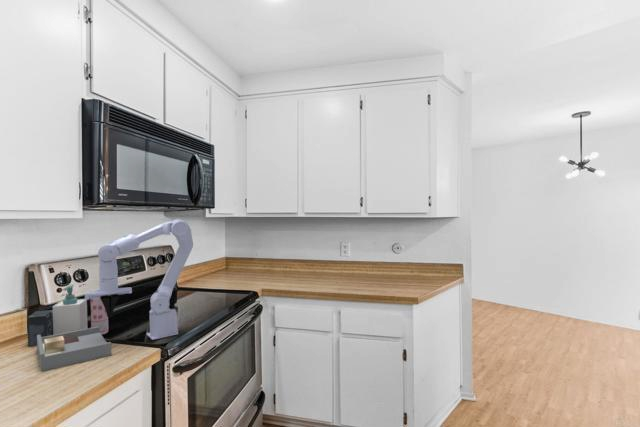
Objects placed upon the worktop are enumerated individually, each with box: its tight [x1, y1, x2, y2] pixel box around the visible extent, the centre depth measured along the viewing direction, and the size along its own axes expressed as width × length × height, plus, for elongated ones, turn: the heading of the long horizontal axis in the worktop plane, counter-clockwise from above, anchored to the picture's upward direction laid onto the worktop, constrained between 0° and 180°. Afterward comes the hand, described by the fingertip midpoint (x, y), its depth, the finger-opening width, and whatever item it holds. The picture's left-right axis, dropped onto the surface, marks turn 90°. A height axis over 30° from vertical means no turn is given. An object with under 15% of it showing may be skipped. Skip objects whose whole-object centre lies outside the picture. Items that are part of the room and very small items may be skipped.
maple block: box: [44, 336, 65, 354], centre depth 122 cm, size 5×5×4 cm
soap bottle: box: [52, 284, 88, 335], centre depth 141 cm, size 9×9×19 cm
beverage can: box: [90, 297, 109, 336], centre depth 145 cm, size 6×6×15 cm
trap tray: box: [36, 326, 112, 372], centre depth 126 cm, size 18×22×5 cm
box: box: [27, 309, 53, 348], centre depth 136 cm, size 8×6×11 cm
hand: (109, 316), depth 134 cm, fingers closed
